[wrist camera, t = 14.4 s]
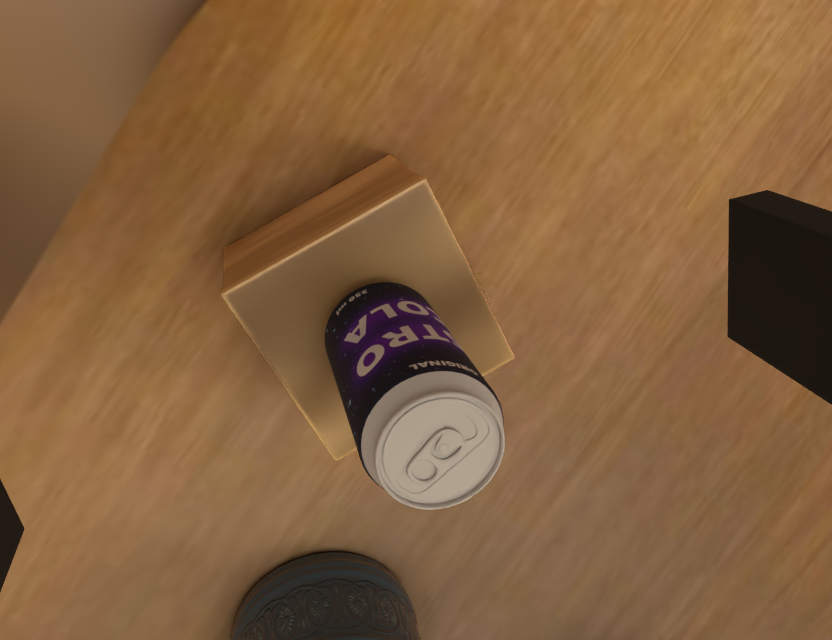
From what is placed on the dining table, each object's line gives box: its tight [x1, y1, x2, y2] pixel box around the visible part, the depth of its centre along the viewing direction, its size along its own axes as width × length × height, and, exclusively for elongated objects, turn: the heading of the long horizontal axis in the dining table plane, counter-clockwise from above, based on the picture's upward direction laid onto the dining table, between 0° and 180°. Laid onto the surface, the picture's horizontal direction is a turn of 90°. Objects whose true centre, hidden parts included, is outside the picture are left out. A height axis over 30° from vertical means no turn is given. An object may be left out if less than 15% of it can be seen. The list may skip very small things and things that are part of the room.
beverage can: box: [325, 282, 505, 510], centre depth 32 cm, size 6×6×12 cm
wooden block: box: [221, 154, 515, 461], centre depth 41 cm, size 11×11×8 cm
